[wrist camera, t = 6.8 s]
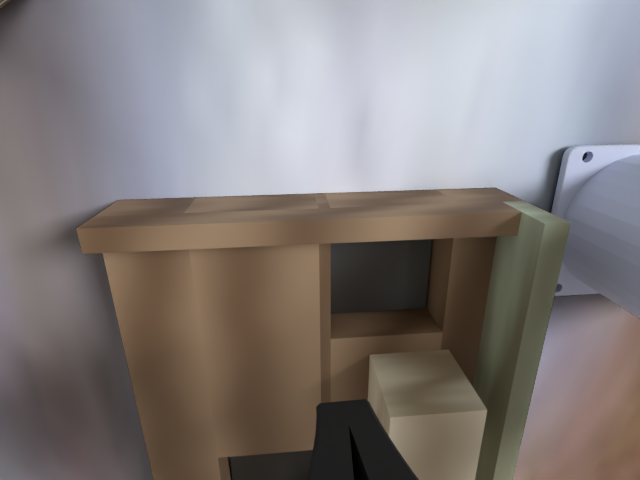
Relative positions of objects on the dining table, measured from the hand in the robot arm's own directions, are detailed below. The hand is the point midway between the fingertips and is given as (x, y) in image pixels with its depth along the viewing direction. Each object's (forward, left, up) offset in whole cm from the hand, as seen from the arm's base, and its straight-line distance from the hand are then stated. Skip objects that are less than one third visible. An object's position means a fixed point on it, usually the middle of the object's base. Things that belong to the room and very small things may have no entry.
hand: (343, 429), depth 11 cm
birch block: (-4, +6, -8) cm, 11 cm away
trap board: (0, +6, -10) cm, 12 cm away
